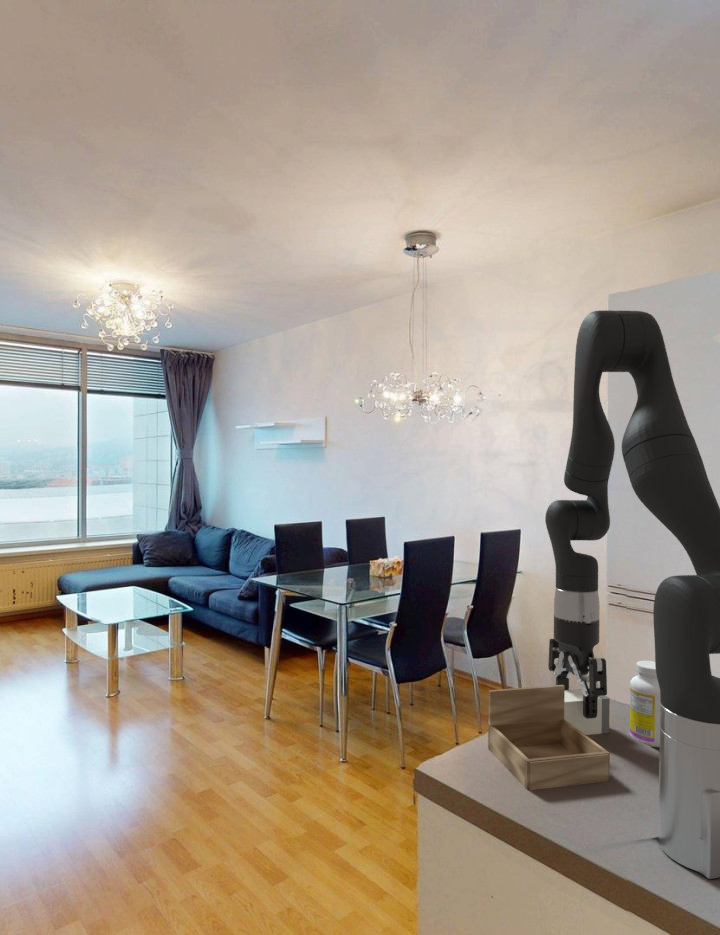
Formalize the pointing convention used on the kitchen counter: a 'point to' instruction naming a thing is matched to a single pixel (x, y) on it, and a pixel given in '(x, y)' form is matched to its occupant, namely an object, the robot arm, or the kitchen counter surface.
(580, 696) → the capped box
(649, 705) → the supplement bottle
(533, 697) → the wooden box
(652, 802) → the kitchen counter surface
